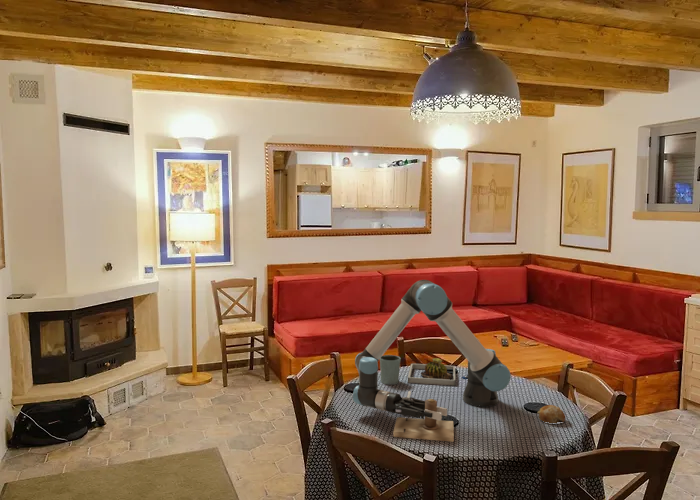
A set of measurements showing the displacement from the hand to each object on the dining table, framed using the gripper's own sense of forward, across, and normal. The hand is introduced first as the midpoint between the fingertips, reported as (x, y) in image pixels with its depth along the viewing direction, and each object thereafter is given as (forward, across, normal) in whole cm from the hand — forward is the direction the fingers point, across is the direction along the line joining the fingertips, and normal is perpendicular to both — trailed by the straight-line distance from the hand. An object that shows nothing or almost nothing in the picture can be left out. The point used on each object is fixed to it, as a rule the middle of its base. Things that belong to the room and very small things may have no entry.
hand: (443, 414), depth 204 cm
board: (-8, +1, -8) cm, 11 cm away
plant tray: (-33, -62, -8) cm, 71 cm away
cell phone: (-13, -70, -9) cm, 72 cm away
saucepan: (-25, -19, -8) cm, 32 cm away
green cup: (-47, -43, -8) cm, 64 cm away
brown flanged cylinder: (-5, 0, -6) cm, 8 cm away
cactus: (-31, -63, -9) cm, 71 cm away
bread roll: (+30, -38, -8) cm, 49 cm away
